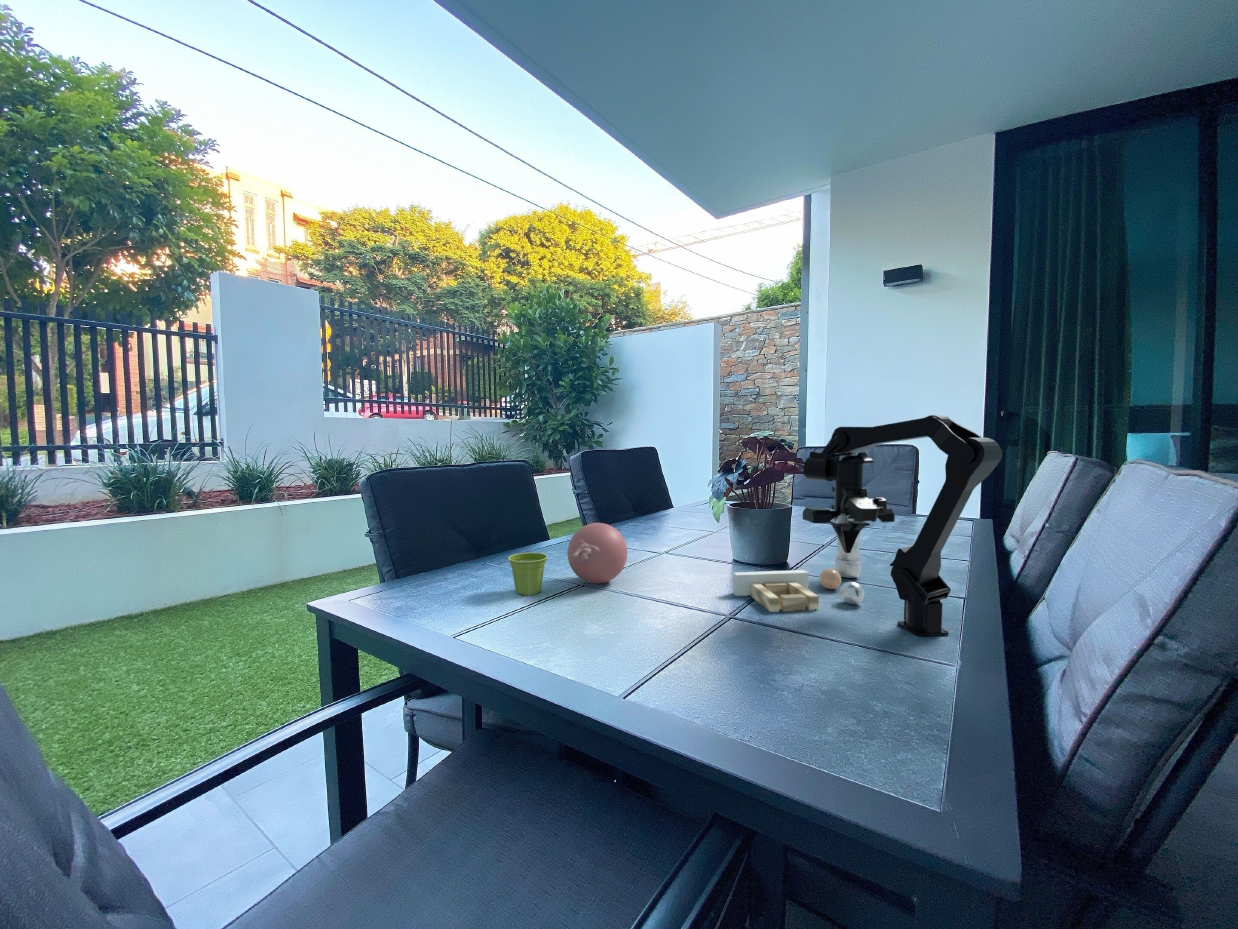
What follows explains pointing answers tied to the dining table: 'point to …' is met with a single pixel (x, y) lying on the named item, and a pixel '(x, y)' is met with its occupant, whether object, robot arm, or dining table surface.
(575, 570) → the pink ball
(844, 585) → the steel ball
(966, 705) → the dining table surface
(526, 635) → the dining table surface
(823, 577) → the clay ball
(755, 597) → the beech collar
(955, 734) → the dining table surface
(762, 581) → the stop block
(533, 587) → the plant pot
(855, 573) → the plastic bottle
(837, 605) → the dining table surface
